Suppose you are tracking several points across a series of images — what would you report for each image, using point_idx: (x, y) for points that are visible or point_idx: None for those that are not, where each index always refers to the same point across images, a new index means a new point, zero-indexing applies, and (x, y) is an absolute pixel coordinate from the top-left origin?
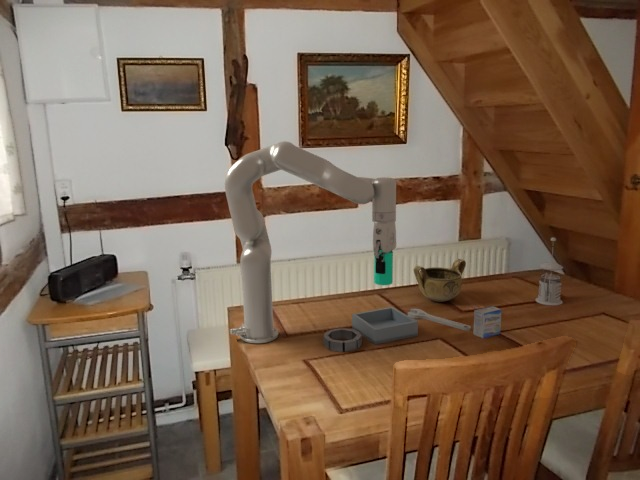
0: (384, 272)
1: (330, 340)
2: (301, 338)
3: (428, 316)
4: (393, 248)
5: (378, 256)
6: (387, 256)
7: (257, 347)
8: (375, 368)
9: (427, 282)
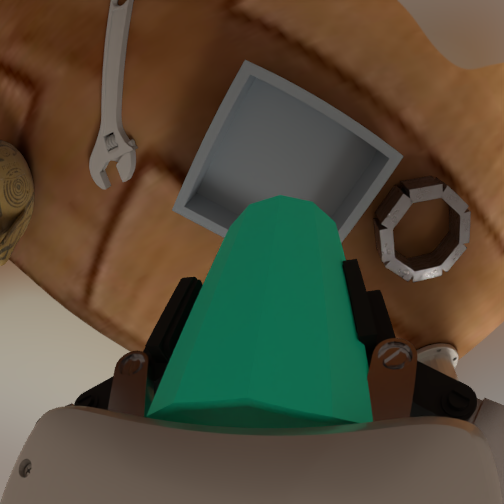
0: (358, 266)
1: (463, 245)
2: (417, 314)
3: (114, 115)
4: (139, 435)
5: (498, 405)
6: (344, 379)
7: (467, 342)
8: (495, 94)
9: (9, 207)
